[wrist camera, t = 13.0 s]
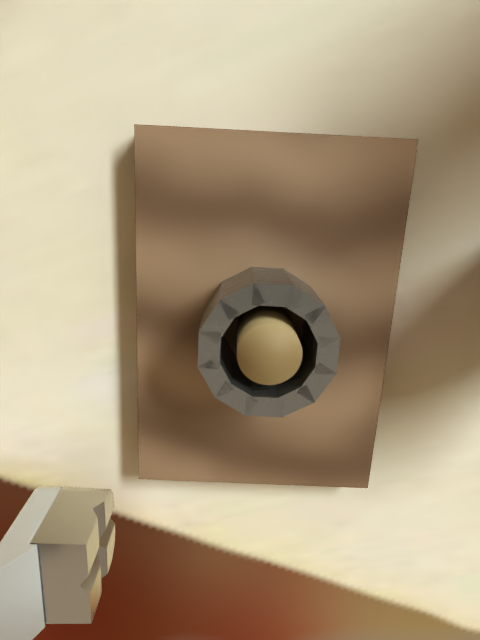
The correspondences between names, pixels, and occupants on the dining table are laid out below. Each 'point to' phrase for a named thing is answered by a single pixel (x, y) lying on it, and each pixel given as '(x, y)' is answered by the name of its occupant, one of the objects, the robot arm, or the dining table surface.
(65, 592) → the robot arm
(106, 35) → the dining table surface
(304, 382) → the steel ring
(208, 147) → the post stand
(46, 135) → the dining table surface
